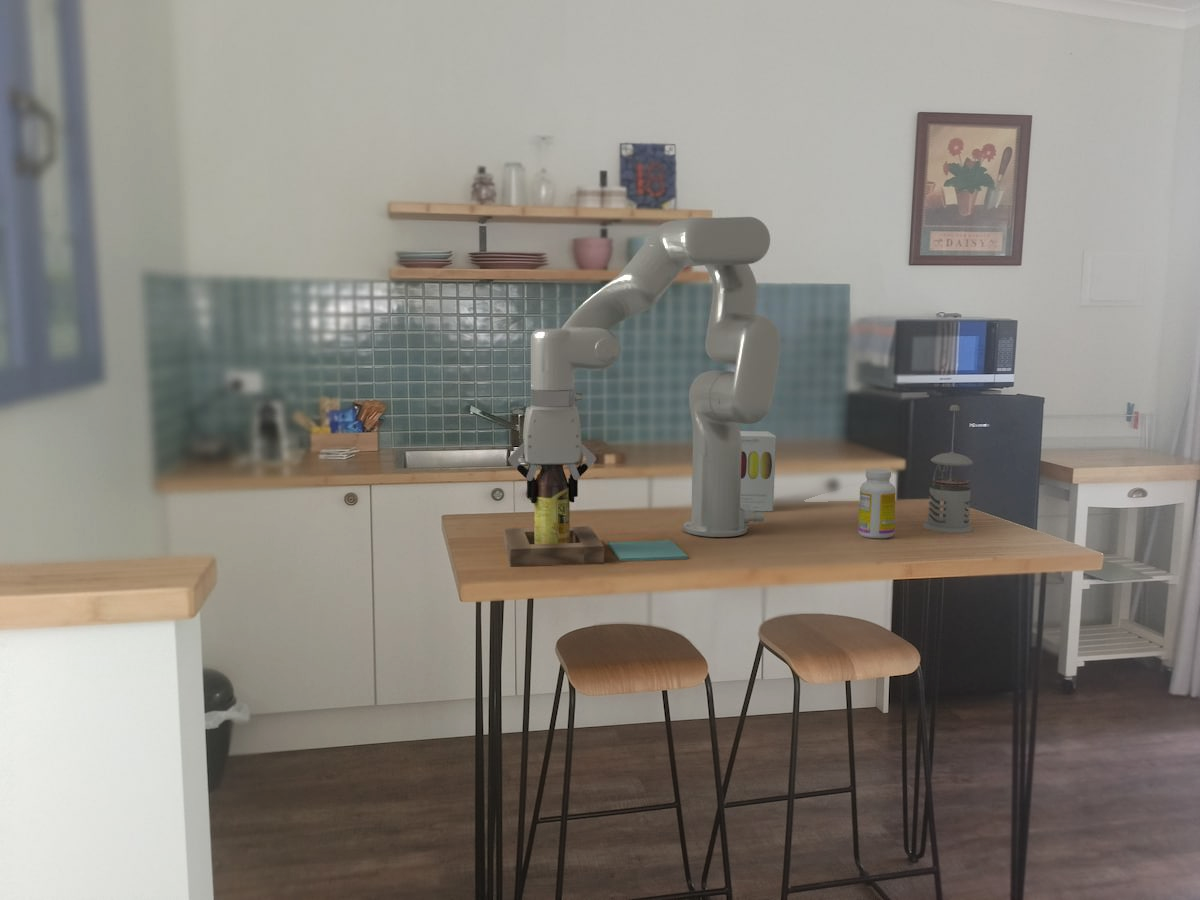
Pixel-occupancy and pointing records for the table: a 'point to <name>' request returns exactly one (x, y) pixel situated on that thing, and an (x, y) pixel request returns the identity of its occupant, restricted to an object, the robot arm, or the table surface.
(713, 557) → the table surface
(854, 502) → the table surface
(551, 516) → the sauce bottle
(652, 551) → the teal mat
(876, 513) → the supplement bottle
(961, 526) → the french press
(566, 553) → the pocket block
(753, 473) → the supplement box
